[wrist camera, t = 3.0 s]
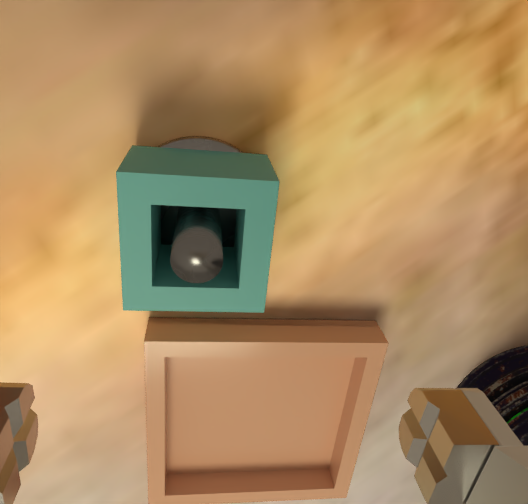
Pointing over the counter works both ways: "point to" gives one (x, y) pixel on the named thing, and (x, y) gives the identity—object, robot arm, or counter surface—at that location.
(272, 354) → the tray
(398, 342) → the counter surface
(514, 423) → the storage jar
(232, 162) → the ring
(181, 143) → the grey peg stand
